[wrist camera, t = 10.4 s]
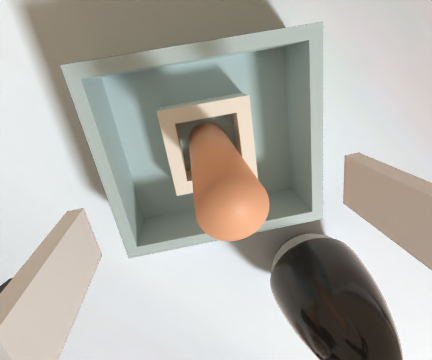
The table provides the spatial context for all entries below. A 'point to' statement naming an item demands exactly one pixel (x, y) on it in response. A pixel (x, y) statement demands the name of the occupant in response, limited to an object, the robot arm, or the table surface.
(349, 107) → the table surface
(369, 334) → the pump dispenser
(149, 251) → the box
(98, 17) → the table surface
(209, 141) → the peg
